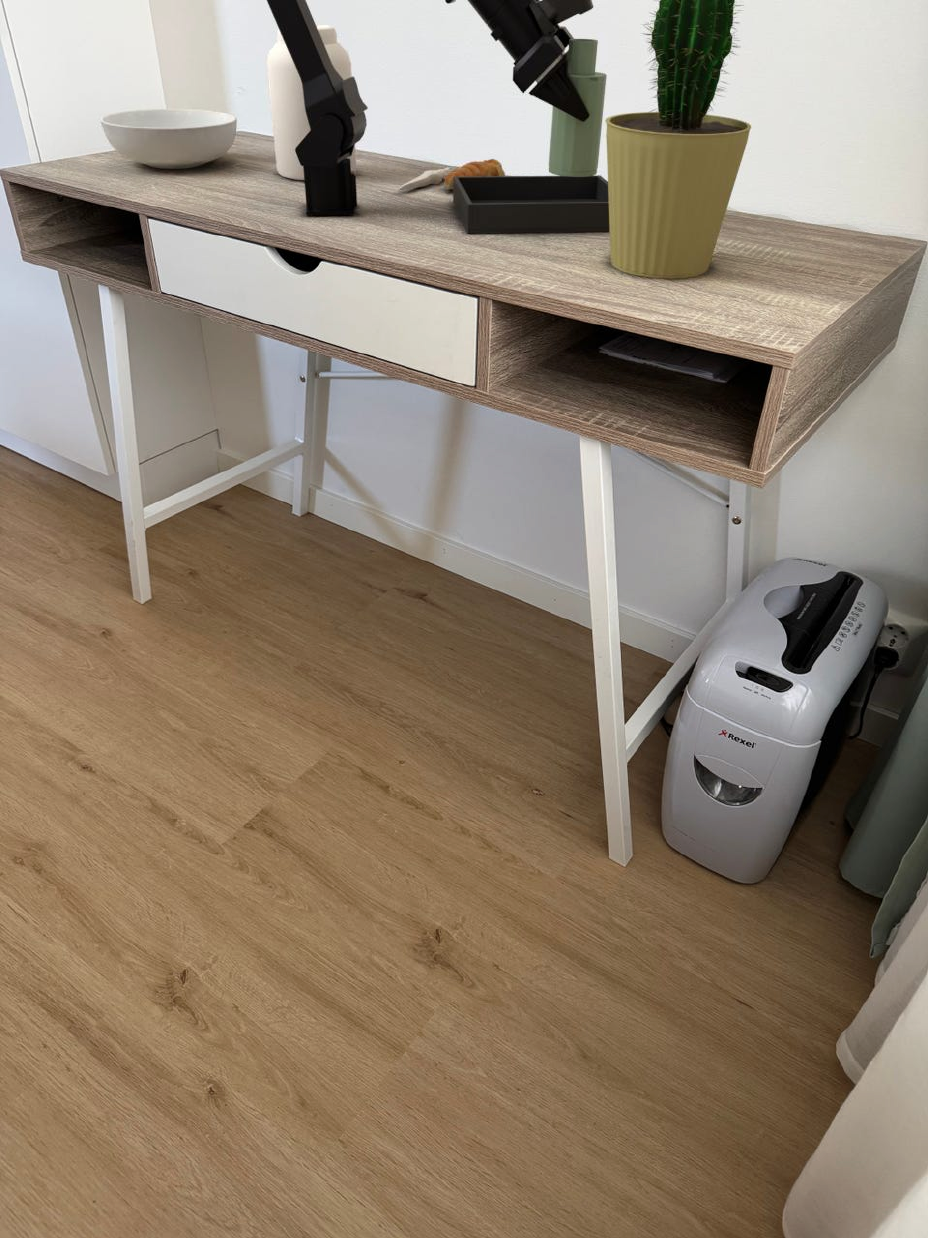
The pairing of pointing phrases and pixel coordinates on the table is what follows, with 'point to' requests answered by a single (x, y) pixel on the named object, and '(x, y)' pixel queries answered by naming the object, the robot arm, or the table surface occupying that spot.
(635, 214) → the potted cactus
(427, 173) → the parsnip
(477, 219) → the tray
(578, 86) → the bottle
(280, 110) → the cream vase
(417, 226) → the table surface
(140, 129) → the serving bowl
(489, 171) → the pastry
